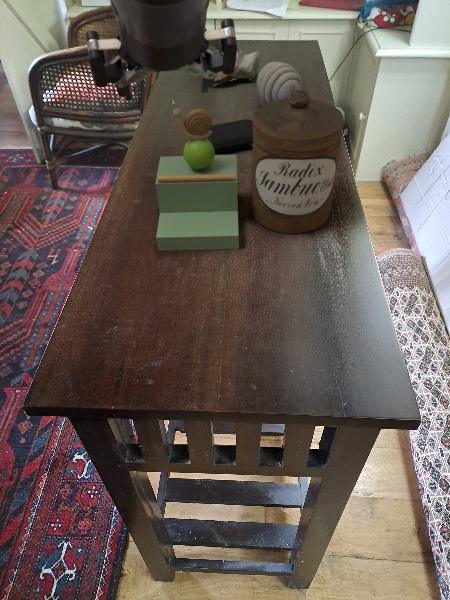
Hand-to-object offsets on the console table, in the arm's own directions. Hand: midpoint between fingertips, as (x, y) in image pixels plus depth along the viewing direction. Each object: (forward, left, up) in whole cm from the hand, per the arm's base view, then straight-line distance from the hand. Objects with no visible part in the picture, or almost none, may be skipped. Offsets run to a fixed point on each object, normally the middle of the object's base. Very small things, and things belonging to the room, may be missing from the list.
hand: (165, 88), depth 52 cm
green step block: (+1, +15, -31) cm, 34 cm away
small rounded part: (+1, +19, -22) cm, 29 cm away
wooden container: (+18, +19, -31) cm, 40 cm away
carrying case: (+7, +45, -31) cm, 55 cm away
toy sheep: (+19, +61, -31) cm, 71 cm away
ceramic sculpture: (+8, +81, -31) cm, 87 cm away
